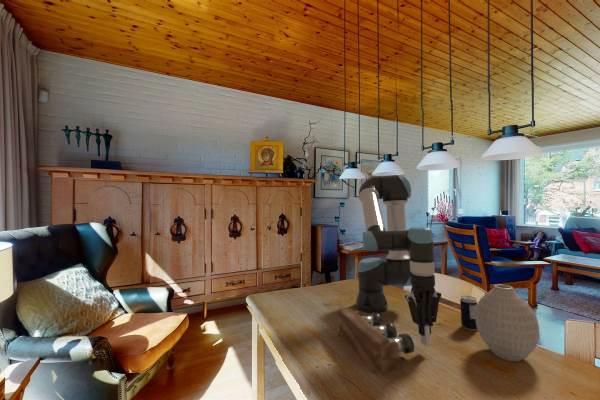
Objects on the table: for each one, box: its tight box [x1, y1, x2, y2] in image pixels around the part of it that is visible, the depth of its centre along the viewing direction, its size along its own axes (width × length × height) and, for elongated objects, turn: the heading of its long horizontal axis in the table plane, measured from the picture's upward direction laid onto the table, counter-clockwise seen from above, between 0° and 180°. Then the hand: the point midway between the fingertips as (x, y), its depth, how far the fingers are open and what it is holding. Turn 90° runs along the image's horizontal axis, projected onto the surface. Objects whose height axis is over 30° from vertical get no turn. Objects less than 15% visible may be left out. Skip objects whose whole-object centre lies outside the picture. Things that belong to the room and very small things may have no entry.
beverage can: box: [459, 295, 478, 332], centre depth 102 cm, size 6×6×12 cm
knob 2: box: [373, 321, 398, 339], centre depth 92 cm, size 9×6×6 cm, turn 105°
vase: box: [475, 283, 540, 363], centre depth 84 cm, size 16×16×22 cm
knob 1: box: [360, 312, 383, 326], centre depth 101 cm, size 9×6×6 cm, turn 105°
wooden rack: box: [338, 307, 400, 375], centre depth 90 cm, size 8×27×9 cm, turn 15°
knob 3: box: [388, 333, 415, 355], centre depth 83 cm, size 9×6×6 cm, turn 105°
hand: (425, 344), depth 86 cm, fingers closed
